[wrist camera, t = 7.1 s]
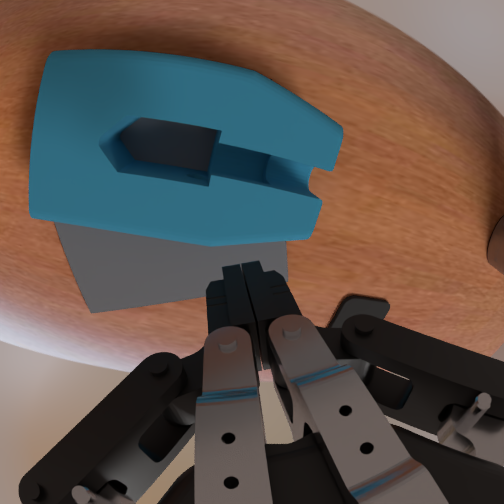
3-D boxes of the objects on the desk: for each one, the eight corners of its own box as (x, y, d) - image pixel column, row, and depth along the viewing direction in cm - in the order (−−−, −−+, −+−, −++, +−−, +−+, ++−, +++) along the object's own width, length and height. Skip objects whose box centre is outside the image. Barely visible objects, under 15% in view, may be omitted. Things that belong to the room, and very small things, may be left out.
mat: (270, 79, 19) (272, 78, 19) (286, 278, 28) (288, 281, 27) (36, 134, 17) (33, 135, 17) (92, 309, 26) (91, 313, 25)
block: (323, 103, 20) (78, 59, 15) (353, 102, 16) (49, 48, 11) (282, 237, 25) (57, 200, 20) (300, 265, 21) (29, 222, 15)
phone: (295, 384, 36) (347, 296, 30) (293, 380, 36) (344, 292, 30) (339, 384, 38) (393, 303, 32) (337, 379, 38) (390, 299, 32)
